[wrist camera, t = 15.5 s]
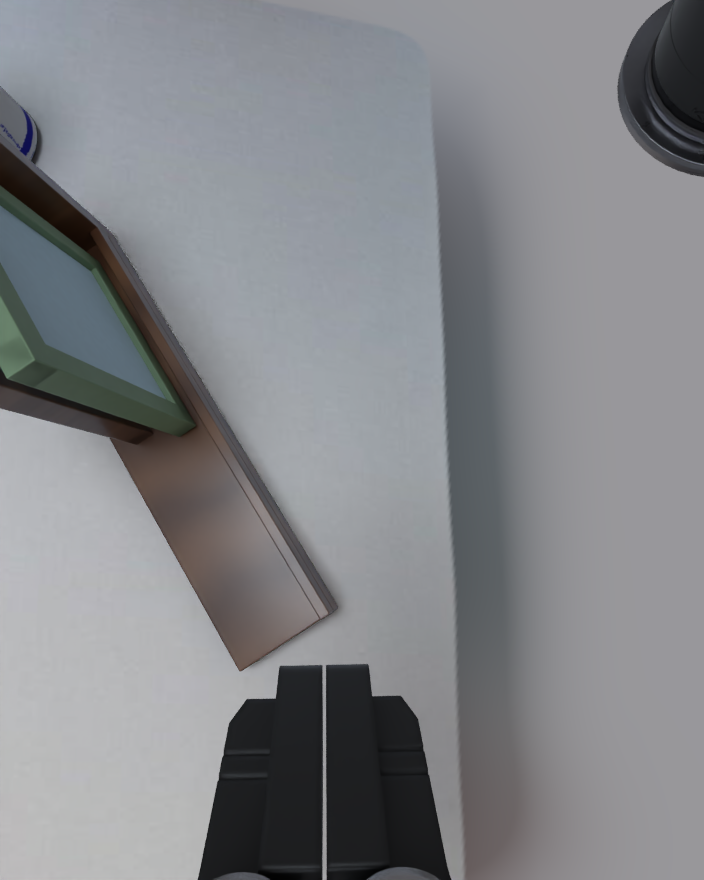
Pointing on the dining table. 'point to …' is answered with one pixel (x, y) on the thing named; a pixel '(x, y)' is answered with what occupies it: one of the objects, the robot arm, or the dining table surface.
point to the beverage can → (17, 125)
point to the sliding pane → (75, 327)
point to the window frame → (183, 460)
